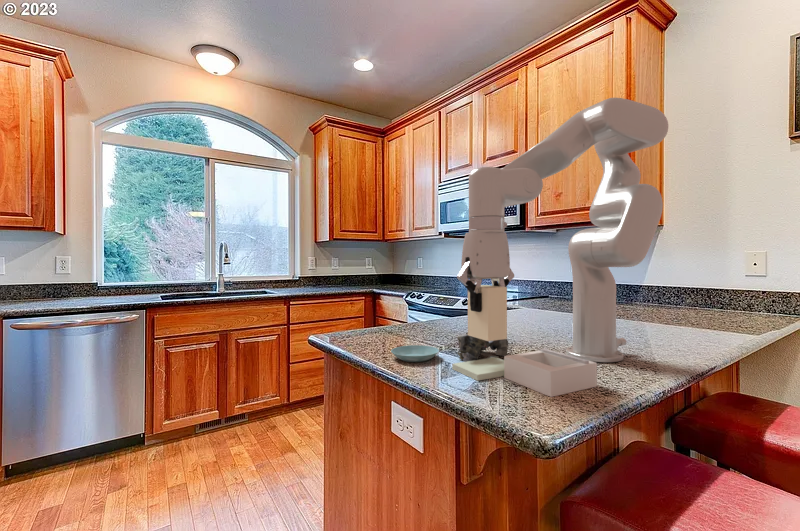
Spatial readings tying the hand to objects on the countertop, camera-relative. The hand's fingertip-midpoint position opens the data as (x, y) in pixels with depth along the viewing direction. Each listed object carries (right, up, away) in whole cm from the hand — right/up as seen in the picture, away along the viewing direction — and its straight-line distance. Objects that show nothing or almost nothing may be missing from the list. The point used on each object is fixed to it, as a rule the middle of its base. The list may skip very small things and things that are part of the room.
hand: (486, 309), depth 82 cm
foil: (+1, -14, +11) cm, 17 cm away
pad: (0, -13, 0) cm, 13 cm away
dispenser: (+11, -13, -8) cm, 19 cm away
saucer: (-15, -14, +11) cm, 23 cm away
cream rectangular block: (0, -6, 0) cm, 6 cm away
